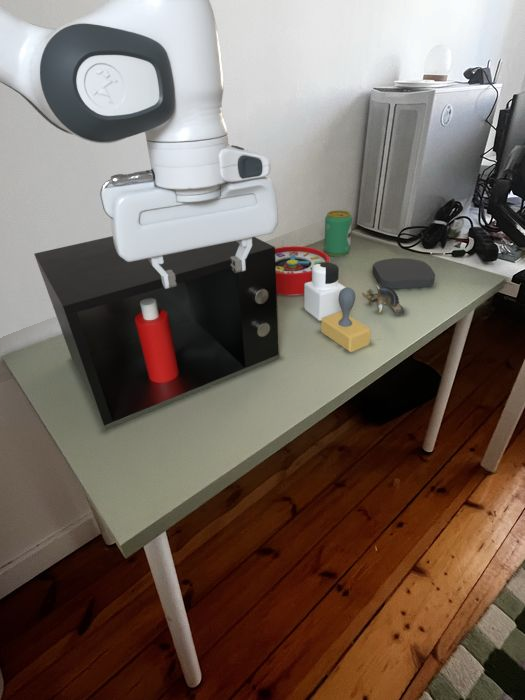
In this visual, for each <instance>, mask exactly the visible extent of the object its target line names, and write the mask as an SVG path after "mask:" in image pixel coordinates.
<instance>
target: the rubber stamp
mask: <svg viewBox="0 0 525 700" xmlns="http://www.w3.org/2000/svg"><path fill="white" fill-rule="evenodd" d="M355 302H356V293H355V290H354V289H353V288H351V287H346V288H344V289H342V290H341V291H340V293H339V304H340V307H341V310H342V312H337V313H335V314H332V315H329V316H327V317H324V318H322V321H320V323H321V325H320V330H321V331H320V332H321V333H322V334H323V335H325V336H327V337H328V338H329V339H330V340H332V341H334V342H335V343H336V344H338V345H339V346H341V347H342V348H344V349H345V350H347V351H348V352H350V353H352V352H355V351H357V350H359V349H362V348H364V347H366V346H369V345H370V341H371V331H372V330H371V328H369V327H367V326H366V325H365V324H363V323H361V322H359V321H358V320H356V319H354V318H352V317H351V316H350V313H351V311H352V309H353V307H354V305H355Z"/></svg>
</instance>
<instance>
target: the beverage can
mask: <svg viewBox="0 0 525 700" xmlns="http://www.w3.org/2000/svg"><path fill="white" fill-rule="evenodd" d="M352 222H353V217H352V215H351V212H350V211H347V210H340V209H337V210H331V211H328V212H327V213H326V216H325V218H324V244H323V246H324V248H323V249H324V251H325V254H327V255H328V256H333V257H342V256H345V255H348V253H349V251H350V250H351V241H352V224H353V223H352Z"/></svg>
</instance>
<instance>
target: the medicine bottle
mask: <svg viewBox="0 0 525 700" xmlns="http://www.w3.org/2000/svg"><path fill="white" fill-rule="evenodd" d="M339 270H340V267H339V266H338V265H337V264H335V263H333V262H330V261H329V262H321V263H318V264H315V265H314V266H313V267H312V281H311V282H307V283H305V284H304V294H303V296H304V299H303V300H304V303H303V306H304V310H305V311H306V312H308V314H310V315H311V316H313V318H315V319H316V320H317V321H319V322H321V321H322V318H324V317H327V316H329V315H332V314H335V313H337V312H342V310H341V307H340V304H339V293H340V291H341V290H342V289H344V288H347V287H346V286H345V285H343V284H342V283H340V282H339V272H340V271H339Z"/></svg>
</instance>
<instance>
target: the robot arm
mask: <svg viewBox="0 0 525 700" xmlns="http://www.w3.org/2000/svg"><path fill="white" fill-rule="evenodd" d="M220 45H221V44H220V38H219V33H218V27H217V21H216V17H215V14H214V10H213V7H212V4H211V1H210V0H106V1H105V2H104V3H102V4H101V5H99V6H98V7H96V8H94V9H93V10H91V11H90V12H88V13H85V14H84V15H82V16H80V17H78V18H76V19H73V20H71V21H69V22H67V23H65V24H63V25H61V26H59V27H57V28H50V27H43V26H40V25H36V24H34V23H30V22H28V21H26V20H24V19H22V18H20V17H18V16H17V15H15V14H13V13H12V12H10V11H9V10H6V9H5V8H4V7H2V6H0V83H1V84H3V85H5V86H7V87H9V88H10V89H11V90H13V91H14V92H16V93H18V94H19V95H20V96H21V97H22V98H23V99H24V100H25V101H26V102H28V103H29V105H31V106H32V108H33V109H34V110H35V111H36V112H37V113H38V114H39V115H40V116H41V117H42V118H43V119H45V120H46V121H47V122H48V123H49V124H50V125H52V126H54V127H55V128H56V129H58V130H60V131H62V132H64V133H66V134H69V135H73V136H75V137H77V138H80V139H82V140H84V141H87V142H90V143H95V144H113V143H114V144H115V143H117V142H121V141H123V140H125V139H127V138H130V137H134V136H137V135H139V134H143V133H144V134H145V140H146V146H147V151H148V158H149V163H150V169H148V170H147V169H146V170H141V171H135V172H131V173H126V174H125V173H124V174H123V173H118V174H117V173H116V174H113V175H111V176H110V179H108V180H106V181H105V182H104V183H103V184H102V186H101V188H100V191H99V197H100V201H101V205H102V209H103V210H104V213H105V214H106V215H107V216H108V217H109V218H110V225H111V233H112V234H111V235H112V236H113V240H114V245H115V249H116V251H117V253H118V255H119V256H120V257H121V258H123V259H124V260H125V261H127V262H132V261H137V260H142V259H147V258H148V259H149V261H150V263H151V264H152V266H153V267H154V268H155V269H156V270H157V271H158V272H159V273H160V275H161V279H162V284H163V286H164V288H165V289H168V288H171V287H175V286H177V283H176V281H175V280H176V277H175V274H174V273H173V271H172V270H167V271H165V270H164V269H163V268H162V267H161V265H160V264H163V263H164V261H163V255H167V254H172V253H177V252H182V251H187V250H192V249H197V248H202V247H207V246H212V245H217V244H222V243H227V242H232V241H236V242H237V243H239V244H240V245H239V247H238V250H237V253H236V255H235V256H233V257H230V262H231V269H232V271H234V273H238V272H242V271H245V270H246V266H245V259H246V258H247V256H248V254H249V251H250V249H251V247H252V237H256V238H258V237H262V236H267V235H271V234H273V233H274V232H275V230H276V229H277V227H278V224H279V212H278V211H279V210H278V200H277V193H276V189H275V186H274V183H273V182H272V180H271V179H270V178H269V177H267V176H269V175H270V173H271V160H270V158H269V157H268V156H266V155H263V154H261V153H259V152H256V151H252V150H248V149H245V148H244V147H240V146H238V145H233V144H232V145H230V144H229V134H228V128H227V124H226V122H225V119H224V114H223V97H224V96H223V95H224V89H225V86H224V85H225V84H224V82H225V81H224V74H223V73H224V72H223V61H222V53H221V46H220ZM109 185H111V186H109Z"/></svg>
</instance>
